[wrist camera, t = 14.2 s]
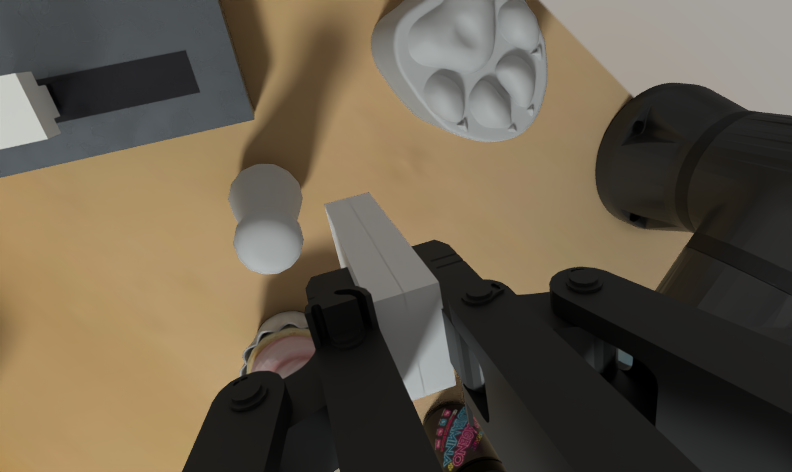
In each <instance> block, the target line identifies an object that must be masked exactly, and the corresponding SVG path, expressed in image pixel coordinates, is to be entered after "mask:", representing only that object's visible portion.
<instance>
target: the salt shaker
mask: <svg viewBox="0 0 792 472" xmlns="http://www.w3.org/2000/svg"><path fill="white" fill-rule="evenodd" d="M302 199H303V198H302V193H301V189H300V185H299V183H298V181H297V180H296V179H295V178H294V177H293V176H292V175H291V174H290V172H289V171H287V170H285V169H283V168H281V167H279V166H277V165H275V164H256V165H253V166H251V167H249V168H247V169H244V170H242V171H241V172H240V173H239V175H238V176H237V177H236V179H235V180H234V181H233V182H232V184H231V188H230V193H229V198H228V200H229V203H230V206H231V209H232V212H233V215H234V217H235V218H236V220H237V222H238V225H237V227H236V231H235V236H234V241H233V244H234V247H235V249H236V252H237V255H238V258H239V260H240V261H241V262H242V263H243V264H244V265H245V266H246V267H247V268H248V269H249V270H252V271H255V272H258V273H260V274H278V273H280V272H282V271H284V270H286V269H288V268H290V267H291V266H292V265H293V264H294V263H295V262H296V261H297V259H298V258H299V257H300V254H301V249H302V245H303V240H304V239H303V235H302V231H301V227H300V225H299V223H298V222H297V219H298V216H299V212H300V208H301V203H302Z"/></svg>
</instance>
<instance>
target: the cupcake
mask: <svg viewBox="0 0 792 472" xmlns="http://www.w3.org/2000/svg"><path fill="white" fill-rule="evenodd" d="M304 314H305V313H302V312H297V311H287V312H282V313H278V314H276V315H274V316H273V317H271V318H269V319H268V320H267V321H265V322H264V323H263V324H262V326H261V327H260V329H259V330H258V333H257V335H256V337H255V339H254V341H253V342H252V344H251V345H250V346H249V347H248V348H247V349H246V350H245V351H244V352H243V360H244V362H245V364H244V365H243V367H242V368H241V370H240V377H241V376H243V375H245V374H249V373H252V372H255V371H272V372H275V373H278V374H279V375H280V376H281V377H282V378H283V379H284V378H285V377H287V376H289V375H291V374H292V373H294V372H295V371H297V370H298V369H300V368H301V367H303V366H304V365H305V364H306V363H307V362H308V361H309V360H310V358H311V357H312V356H313V354H314V352H315V346H314V343H313V340H312V337H311V334H310V331H309V327H308V324H307V321H306V318H305V315H304Z"/></svg>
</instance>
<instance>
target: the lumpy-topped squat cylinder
mask: <svg viewBox="0 0 792 472" xmlns="http://www.w3.org/2000/svg"><path fill="white" fill-rule="evenodd" d="M371 51H372V56H373V59H374V62H375V64H376V66H377V68H378V70H379V72H380V73H381V75H382V76H383V78H384V79H385V80H386V82H387V83H388V85H389V86H390V88H391V89H392V90H393V92H394V93H395V94H396V95H397V97H398V98H399V99H400V100H401V101H402V102H403V103H404V105H405V106H406V107H407V108H408V109H409V110H410V111H411V112H412V113H413V114H414V115H416V116H417V117H418V118H419V119H421V120H423V121H425V122H427V123H430V124H432V125H434V126H437V127H439V128H441V129H443V130H445V131H448V132H450V133H453V134H455V135H458V136H461V137H464V138H468V139H471V140H475V141H480V142H498V141H503V140H508V139H511V138H514V137H516V136H519V135H520V134H522V133H523V132H524V131H525V130H527V129H528V127H529V126H530V125H531V124H532V123H533V121H534V120H535V118H536V116H537V115H538V113H539V110H540V108H541V105H542V102H543V98H544V94H545V91H546V85H547V57H546V47H545V41H544V37H543V35H542V32H541V30H540V28H539V25H538V21H537V19H536V16H535V15H534V13H533V12H532V11H531V10H530V8H529V7H528V5H527V3H526V2H525V0H404V1H403V2H402V3H401V4H399V5H398V6H397V7H396V8H394V9H393V10H392V11H390V12H389V13H387V14H386V15H385V16H384V17H383V18H381V19H380V21H379V22H378V23H377V24H376V26H375V28H374V30H373V33H372V37H371Z"/></svg>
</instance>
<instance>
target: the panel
mask: <svg viewBox="0 0 792 472" xmlns="http://www.w3.org/2000/svg"><path fill="white" fill-rule="evenodd" d="M22 72H32V74H33V76H34V78H35V80H36V82H37V85H38V86H42V85H46V87H47V89H48V91H49V93H50V96H51V98H52V100H53V102H54V104H55V106H56V108H57V110H58V112H59V114H60V116H59V117H57V118H54V120H55V122H56V124H57V126H58V128H59V130H60V132H61V134H58V135H56V136H54V137H51V138H49V139H46V140H41V141H37V142H32V143H28V144H23V145H19V146H14V147H9V148H5V149H0V178H1V177H5V176H10V175H14V174H18V173H23V172H27V171H32V170H36V169H40V168H45V167H49V166H53V165H58V164H62V163H67V162H71V161H75V160H80V159H84V158H88V157H93V156H97V155H101V154H106V153H110V152H115V151H119V150H123V149H128V148H132V147H136V146H141V145H145V144H150V143H154V142H158V141H163V140H167V139H171V138H176V137H180V136H184V135H189V134H193V133H198V132H202V131H206V130H211V129H215V128H219V127H224V126H228V125H233V124H237V123H241V122H246V121H250V120H254V110H253V107H252V103H251V100H250V97H249V93H248V90H247V87H246V84H245V80H244V77H243V74H242V70H241V67H240V64H239V61H238V57H237V54H236V51H235V48H234V44H233V41H232V38H231V34H230V31H229V28H228V25H227V21H226V18H225V15H224V11H223V8H222V5H221V2H220V0H0V76H3V75H8V74H14V73H22Z"/></svg>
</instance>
